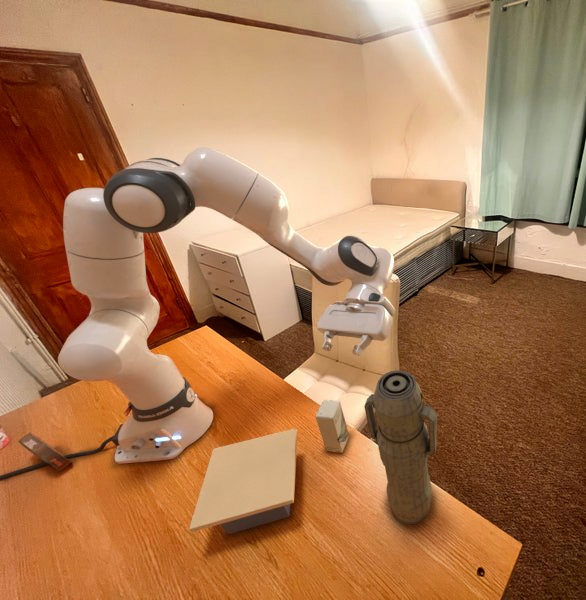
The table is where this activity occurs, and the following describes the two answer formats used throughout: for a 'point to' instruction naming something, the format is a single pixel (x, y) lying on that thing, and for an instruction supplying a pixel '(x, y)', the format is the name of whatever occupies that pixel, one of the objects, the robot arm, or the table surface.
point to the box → (332, 425)
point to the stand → (248, 483)
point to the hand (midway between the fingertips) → (340, 352)
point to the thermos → (403, 443)
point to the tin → (44, 451)
